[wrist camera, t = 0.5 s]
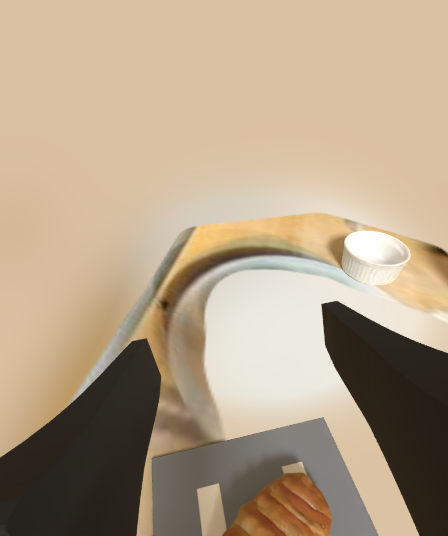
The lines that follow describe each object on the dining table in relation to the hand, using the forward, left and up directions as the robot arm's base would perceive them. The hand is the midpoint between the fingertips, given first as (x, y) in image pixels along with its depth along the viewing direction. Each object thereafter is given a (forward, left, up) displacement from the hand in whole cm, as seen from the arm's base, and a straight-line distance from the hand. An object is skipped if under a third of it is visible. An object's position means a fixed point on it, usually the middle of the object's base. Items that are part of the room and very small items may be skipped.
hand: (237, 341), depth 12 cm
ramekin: (+22, -26, -19) cm, 40 cm away
